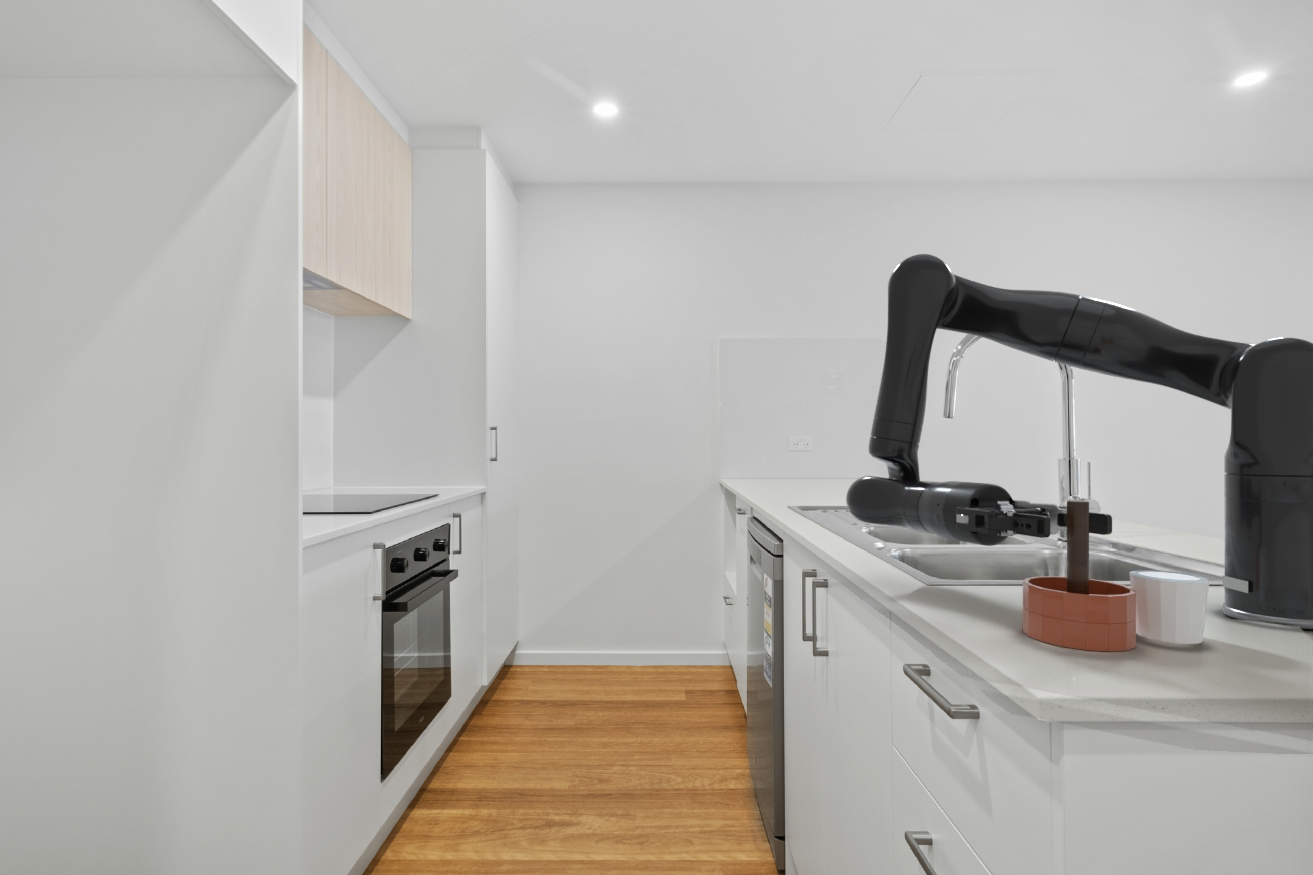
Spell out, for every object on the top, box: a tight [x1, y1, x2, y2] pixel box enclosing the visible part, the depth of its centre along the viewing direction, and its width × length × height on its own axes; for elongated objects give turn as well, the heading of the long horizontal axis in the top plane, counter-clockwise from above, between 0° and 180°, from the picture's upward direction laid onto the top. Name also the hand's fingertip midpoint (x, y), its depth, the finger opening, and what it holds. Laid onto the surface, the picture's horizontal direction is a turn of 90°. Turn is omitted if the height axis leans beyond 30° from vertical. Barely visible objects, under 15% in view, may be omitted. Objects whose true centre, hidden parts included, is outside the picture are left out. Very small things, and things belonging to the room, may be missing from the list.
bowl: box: [1022, 575, 1137, 653], centre depth 72 cm, size 10×10×6 cm
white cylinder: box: [1128, 569, 1210, 645], centre depth 73 cm, size 7×7×7 cm
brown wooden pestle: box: [1066, 499, 1090, 594], centre depth 72 cm, size 3×3×14 cm
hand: (1079, 526), depth 72 cm, fingers open, 8 cm apart
